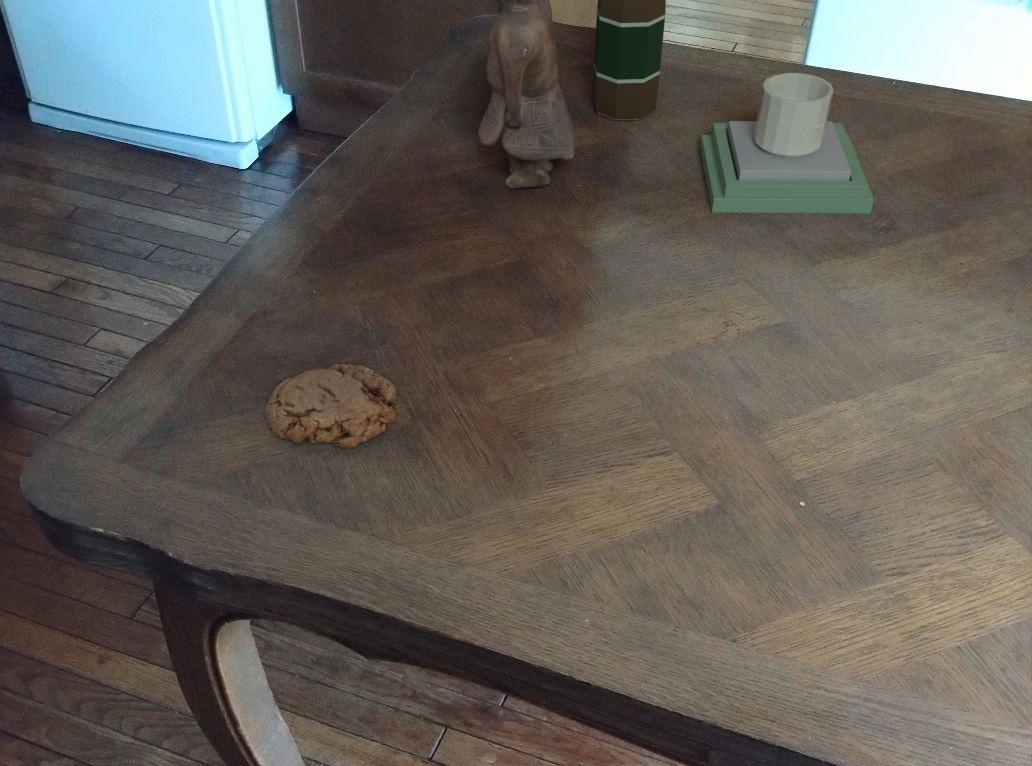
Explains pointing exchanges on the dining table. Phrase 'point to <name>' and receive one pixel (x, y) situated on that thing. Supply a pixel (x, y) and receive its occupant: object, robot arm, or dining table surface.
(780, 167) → the pan
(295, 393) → the cookie
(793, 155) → the cup
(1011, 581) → the dining table surface
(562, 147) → the clay figurine
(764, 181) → the scale
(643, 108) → the beer bottle
